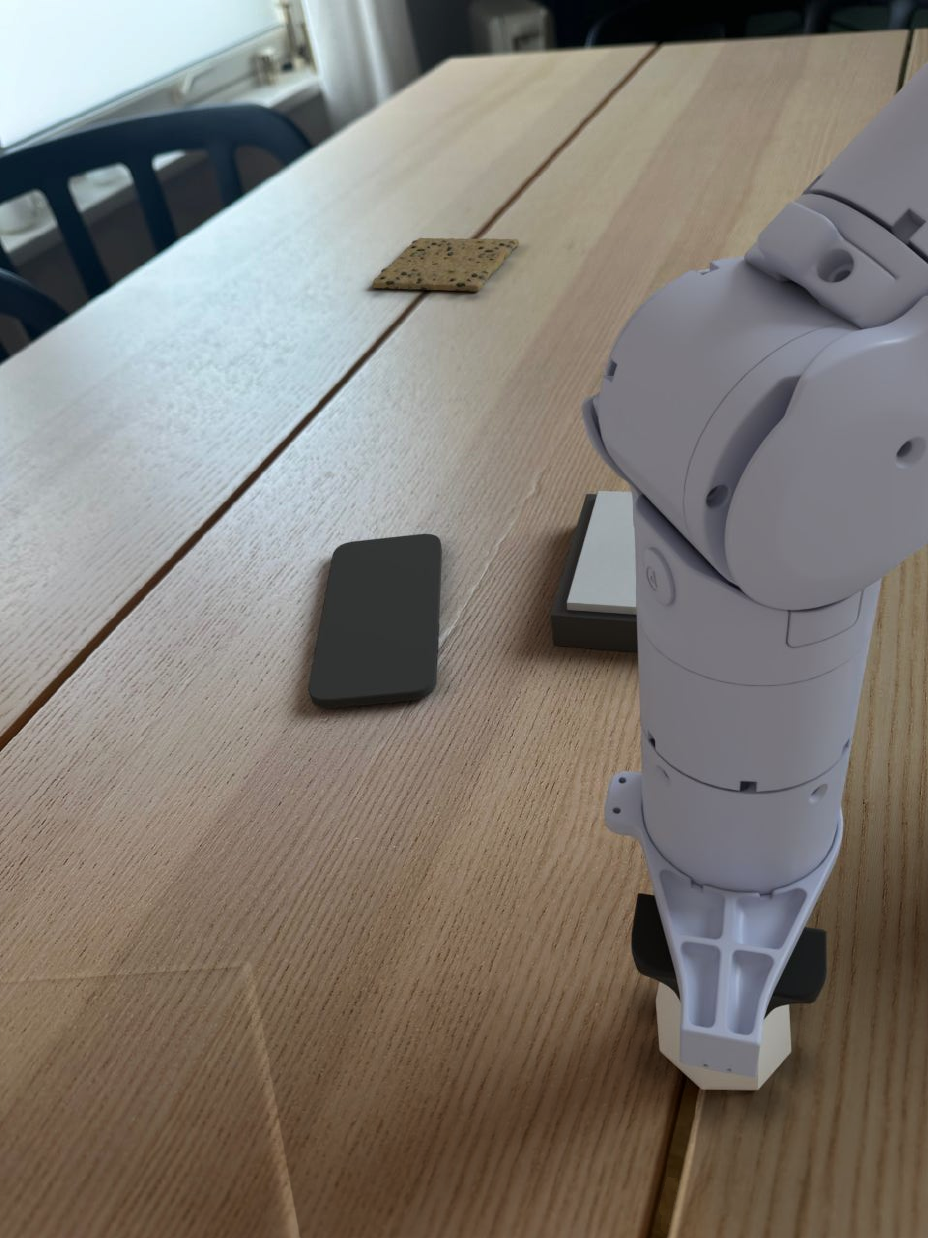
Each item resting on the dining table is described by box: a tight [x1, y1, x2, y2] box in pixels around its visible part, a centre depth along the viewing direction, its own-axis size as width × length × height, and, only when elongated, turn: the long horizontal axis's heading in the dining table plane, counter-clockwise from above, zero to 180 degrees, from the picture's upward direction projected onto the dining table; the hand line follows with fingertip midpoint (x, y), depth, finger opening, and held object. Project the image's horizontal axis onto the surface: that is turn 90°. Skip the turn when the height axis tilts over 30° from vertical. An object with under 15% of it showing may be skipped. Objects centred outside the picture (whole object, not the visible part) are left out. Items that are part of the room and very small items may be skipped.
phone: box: [308, 533, 443, 709], centre depth 61 cm, size 7×1×15 cm
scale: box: [549, 490, 638, 653], centre depth 58 cm, size 14×12×3 cm
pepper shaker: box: [655, 981, 792, 1091], centre depth 36 cm, size 5×5×11 cm
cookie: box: [372, 237, 520, 292], centre depth 101 cm, size 12×12×1 cm
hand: (726, 963), depth 36 cm, fingers closed on pepper shaker, 4 cm apart
